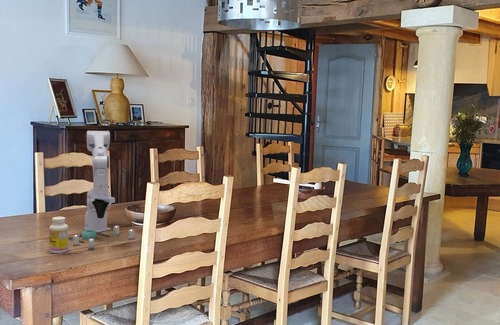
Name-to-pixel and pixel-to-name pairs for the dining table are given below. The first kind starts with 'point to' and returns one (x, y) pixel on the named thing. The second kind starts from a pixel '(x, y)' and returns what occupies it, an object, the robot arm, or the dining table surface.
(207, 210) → the dining table surface
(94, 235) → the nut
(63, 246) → the supplement bottle
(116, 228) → the spacer field
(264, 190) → the dining table surface
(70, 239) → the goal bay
